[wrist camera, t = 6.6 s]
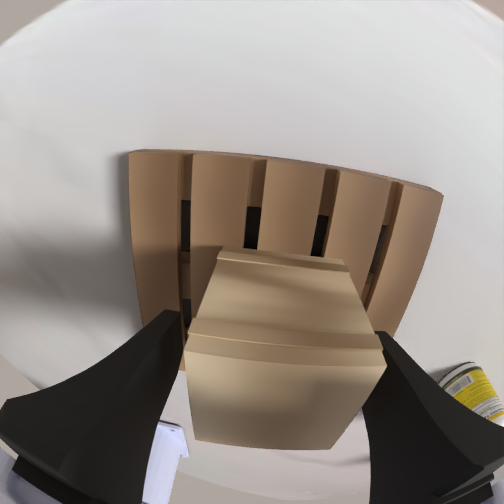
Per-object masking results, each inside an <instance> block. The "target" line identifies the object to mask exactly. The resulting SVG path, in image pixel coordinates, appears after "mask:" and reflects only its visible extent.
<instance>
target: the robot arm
mask: <svg viewBox="0 0 504 504" xmlns="http://www.w3.org/2000/svg"><path fill="white" fill-rule="evenodd" d="M374 333H375V334H378V337H379V339H380V342H381V344H382V347H383V351H382V354H383V356H384V359H385V362H386V364H387V367H386V369H385V371H384V372H383V374H382V376H381V378H380V379H379V381H378V382H377V384H376V386H375V387H374V389H373V390H372V392H371V394H370V395H369V397H368V398H367V400H366V401H365V403H364V404H363V406H362V411H363V415H364V419H365V424H366V428H367V433H368V439H369V447H370V462H371V485H370V501H369V504H504V479H502V480H501V481H499V482H497V483H496V484H494V485H493V486H491V484H490V481H492V480H493V479H494V475H493V472H494V471H495V470H497V469H498V468H499V467H501V466H502V465H503V464H504V427H503V426H500V425H498V424H496V423H494V422H492V421H490V420H488V419H486V418H484V417H482V416H480V415H479V414H477V413H475V412H474V411H472V410H471V409H469V408H468V407H466V406H465V405H463V404H462V403H460V402H459V401H458V400H456V399H455V398H454V397H453V396H451V395H450V394H449V393H448V392H446V391H445V390H444V389H443V388H442V387H440V386H439V385H438V384H437V383H436V382H435V381H434V380H433V379H432V378H431V377H430V376H429V375H428V374H427V373H426V372H425V371H424V370H423V369H422V368H421V367H420V366H419V365H418V364H417V363H416V362H415V361H414V360H413V359H412V358H411V357H410V356H409V355H408V354H407V353H406V352H405V351H404V349H403V348H402V347H401V346H400V345H399V344H398V343H397V342H396V341H395V340H394V339H393V338H392V337H391V336H390V335H389V334H388V333H387V332H386V331H374ZM183 351H184V349H183V338H182V325H181V312H180V311H174V310H168V309H165V310H163V311H162V312H161V313H160V314H158V315H157V316H156V317H155V318H154V319H153V320H152V321H151V322H149V323H148V324H147V325H146V326H145V327H144V328H143V329H141V330H140V331H139V332H138V333H137V334H135V335H134V336H133V337H132V338H131V339H129V340H128V341H127V342H126V343H124V344H123V345H122V346H120V347H119V348H118V349H116V350H115V351H114V352H112V353H111V354H110V355H108V356H107V357H106V358H104V359H103V360H101V361H100V362H98V363H96V364H95V365H93V366H92V367H90V368H88V369H87V370H85V371H83V372H81V373H79V374H77V375H75V376H73V377H71V378H69V379H67V380H65V381H63V382H61V383H58V384H56V385H54V386H51V387H49V388H46V389H43V390H40V391H37V392H34V393H31V394H27V395H23V396H20V397H15V398H11V399H7V400H6V402H5V403H4V405H3V406H2V408H1V410H0V439H2V440H3V441H4V442H5V443H6V444H7V445H8V446H9V447H10V448H11V449H12V450H13V451H15V452H16V453H17V454H18V455H19V456H18V458H17V460H15V459H14V458H13V457H12V456H10V455H9V454H8V453H7V452H5V451H4V450H3V449H1V448H0V504H168V502H169V498H170V493H171V490H172V485H173V482H174V477H175V473H176V469H177V465H178V461H179V457H184V458H188V457H189V452H188V448H187V444H186V440H185V436H184V432H183V429H182V428H181V427H179V426H175V425H171V424H167V423H162V422H159V419H160V417H161V414H162V411H163V409H164V406H165V404H166V401H167V399H168V396H169V394H170V391H171V389H172V386H173V384H174V381H175V379H176V376H177V374H178V370H179V367H180V363H181V359H182V355H183Z"/></svg>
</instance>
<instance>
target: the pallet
mask: <svg viewBox="0 0 504 504" xmlns="http://www.w3.org/2000/svg"><path fill="white" fill-rule="evenodd" d="M443 197H444V195H442V193H440V192H438V191H436V190H434V189H432V188H430V187H427V186H423V185H419V184H415V183H412V182H408V181H404V180H400V179H395V178H391V177H387V176H383V175H378V174H373V173H369V172H364V171H359V170H354V169H349V168H343V167H338V166H332V165H326V164H320V163H314V162H307V161H301V160H293V159H286V158H278V157H269V156H260V155H251V154H240V153H227V152H213V151H194V150H160V149H141V150H136V151H132V152H129V204H130V223H131V237H132V248H133V258H134V268H135V276H136V284H137V291H138V298H139V305H140V311H141V317H142V323H143V328H144V327H145V326H146V325H147V324H148V323H149V322H151V321H152V320H153V319H154V318H155V317H156V316H157V315H158V314H160V313H161V312H162V311H163V310H165V309H168V310H174V311H180V312H181V325H182V338H183V349H184V348H185V345H186V343H187V340H188V330H189V327H184V313H183V298H184V299H191V312H192V320H193V318H196V316H197V313H198V310H199V308H200V305H201V303H202V300H203V297H204V295H205V292H206V289H207V287H208V284H209V282H210V279H211V277H212V274H213V271H214V269H215V266H216V264H217V257H218V254H219V252H220V251H222V249H223V246H229V247H238V248H244V237H245V226H246V215H247V206H253V207H262V211H261V220H260V229H259V238H258V247H257V250H264V251H273V252H281V253H290V254H298V255H307V256H310V254H311V249H312V244H313V239H314V234H315V228H316V223H317V217H318V215H324V216H329V219H328V224H327V229H326V234H325V239H324V244H323V248H322V253H321V257H324V258H333V259H341V260H343V262H344V264H345V265H347V267H348V269H349V271H350V277H351V279H352V282H353V284H354V286H355V288H356V291H357V293H358V295H359V297H360V300H361V302H362V304H363V307H364V309H365V311H366V314H367V316H368V319H369V321H370V323H371V326H372V328H373V331H386V332H387V333H388V334H389V335H390V336H391V337H392V338H393V336H394V334H395V332H396V330H397V328H398V326H399V324H400V321H401V319H402V317H403V315H404V313H405V310H406V308H407V306H408V303H409V301H410V299H411V296H412V294H413V291H414V289H415V286H416V284H417V281H418V278H419V276H420V273H421V270H422V268H423V265H424V262H425V259H426V256H427V253H428V250H429V247H430V244H431V241H432V237H433V234H434V231H435V227H436V224H437V220H438V217H439V213H440V209H441V205H442V201H443ZM181 200H191V232H190V252H185V251H181ZM382 225H388V228H387V232H386V236H385V239H384V243H383V246H382V250H381V253H380V257H379V260H378V263H377V267H376V270H375V273H369V270H370V266H371V263H372V260H373V256H374V253H375V249H376V246H377V242H378V238H379V234H380V231H381V227H382ZM179 370H181V371H185V370H186V369H185V359H184V351H183V355H182V359H181V363H180V367H179Z"/></svg>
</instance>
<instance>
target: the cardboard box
mask: <svg viewBox="0 0 504 504" xmlns="http://www.w3.org/2000/svg"><path fill="white" fill-rule="evenodd" d="M382 351H383V347H382V344H381V342H380V339H379V337H378V334H375V333H374V331H373V328H372V326H371V323H370V321H369V319H368V316H367V314H366V311H365V309H364V307H363V304H362V302H361V300H360V297H359V295H358V293H357V291H356V288H355V286H354V284H353V282H352V279H351V277H350V271H349V269H348V267H347V265H345V264H344V262H343V260H341V259H333V258H324V257H316V256H307V255H298V254H290V253H281V252H273V251H264V250H255V249H247V248H238V247H229V246H223V249H222V251H220V252H219V254H218V257H217V264H216V266H215V269H214V271H213V274H212V277H211V279H210V282H209V284H208V287H207V289H206V292H205V295H204V297H203V300H202V303H201V305H200V308H199V310H198V313H197V316H196V318H193V320H192V322H191V325H190V327H189V330H188V340H187V343H186V345H185V348H184V359H185V369H186V378H187V387H188V395H189V402H190V410H191V417H192V423H193V430H194V436H195V440H200V441H205V442H211V443H218V444H225V445H232V446H241V447H250V448H263V449H280V450H328V449H331V448H332V447H333V445H334V444H335V443H336V442H337V440H338V439H339V438H340V436H341V435H342V434H343V432H344V431H345V430H346V428H347V427H348V426H349V424H350V423H351V422H352V420H353V419H354V417H355V416H356V415H357V413H358V412H359V410H360V409H361V407H362V406H363V404H364V403H365V401H366V400H367V398H368V397H369V395H370V394H371V392H372V390H373V389H374V387H375V386H376V384H377V382H378V381H379V379H380V378H381V376H382V374H383V372H384V371H385V369H386V367H387V364H386V362H385V359H384V356H383V354H382Z"/></svg>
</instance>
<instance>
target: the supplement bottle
mask: <svg viewBox="0 0 504 504" xmlns="http://www.w3.org/2000/svg"><path fill="white" fill-rule="evenodd" d="M438 385H439V386H440V387H442V388H443V389H444V390H445V391H446V392H448V393H449V394H450V395H451V396H453V397H454V398H455V399H456V400H458V401H459V402H460V403H462V404H463V405H465V406H466V407H468V408H469V409H471V410H472V411H474V412H475V413H477V414H479V415H480V416H482V417H484V418H486V419H488V420H490V421H492V422H494V423H496V424H498V425H500V426H503V427H504V407H503V405H502V403H501V402H500V400H499V398H498V396H497V394H496V392H495V391H494V389H493V387H492V385H491V383H490V382H489V380H488V378H487V377H486V375H485V373H484V372H483V370H482V369H481V367H480V366H479V365H478V364H477V363H468V364H465V365H462V366H460V367H458V368H457V369H455V370H453V371H452V372H451V373H449V374H448V375H447V376H446V377H445V378H444V379H443V380H442V381H441V382H440V383H439V384H438Z"/></svg>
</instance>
